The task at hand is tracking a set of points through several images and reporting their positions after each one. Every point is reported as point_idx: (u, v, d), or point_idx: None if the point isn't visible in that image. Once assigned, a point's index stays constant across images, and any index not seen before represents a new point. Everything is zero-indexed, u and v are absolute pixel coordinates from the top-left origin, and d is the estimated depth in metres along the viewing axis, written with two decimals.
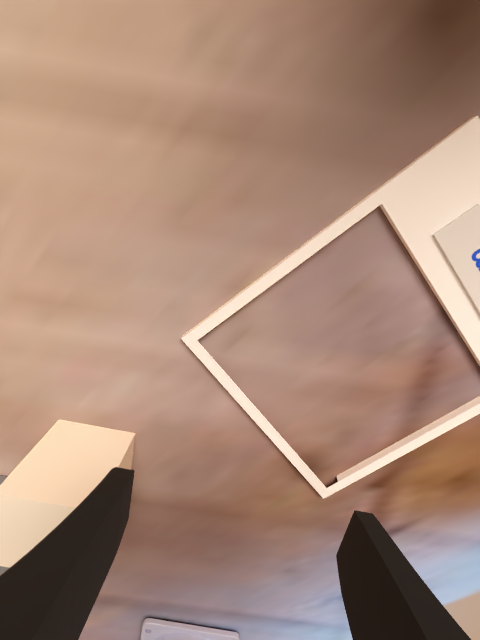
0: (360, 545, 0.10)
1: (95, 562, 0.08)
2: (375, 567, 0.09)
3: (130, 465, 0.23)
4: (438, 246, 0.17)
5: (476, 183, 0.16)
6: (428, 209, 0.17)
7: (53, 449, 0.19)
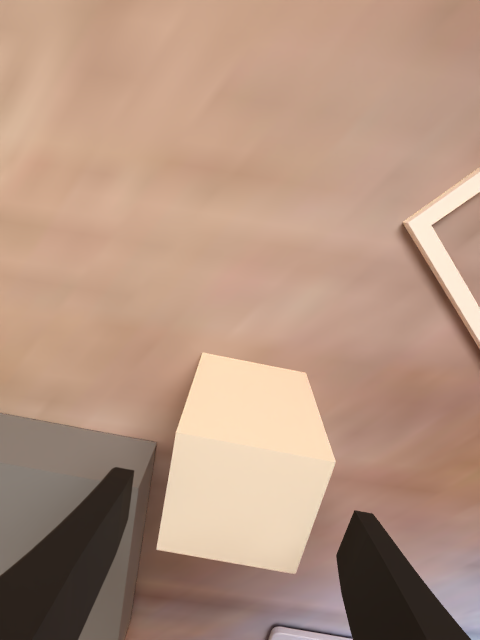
0: (360, 545, 0.10)
1: (95, 562, 0.08)
2: (375, 567, 0.09)
3: None
4: None
5: None
6: None
7: (220, 384, 0.13)
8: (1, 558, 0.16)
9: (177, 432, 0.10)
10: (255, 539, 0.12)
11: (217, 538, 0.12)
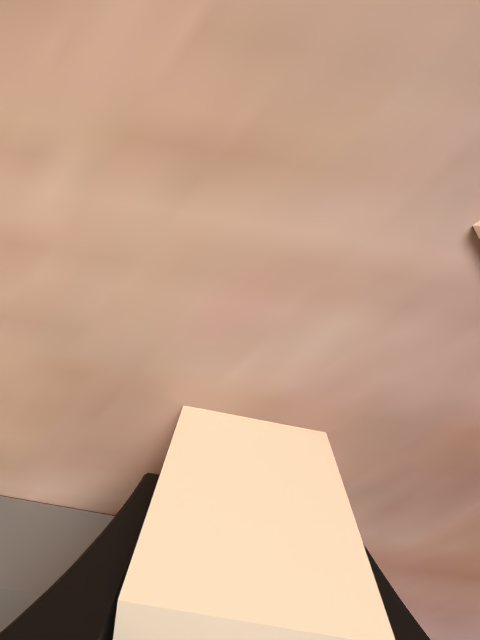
0: None
1: None
2: None
3: None
4: None
5: None
6: None
7: (204, 467, 0.09)
8: None
9: (120, 600, 0.06)
10: None
11: None
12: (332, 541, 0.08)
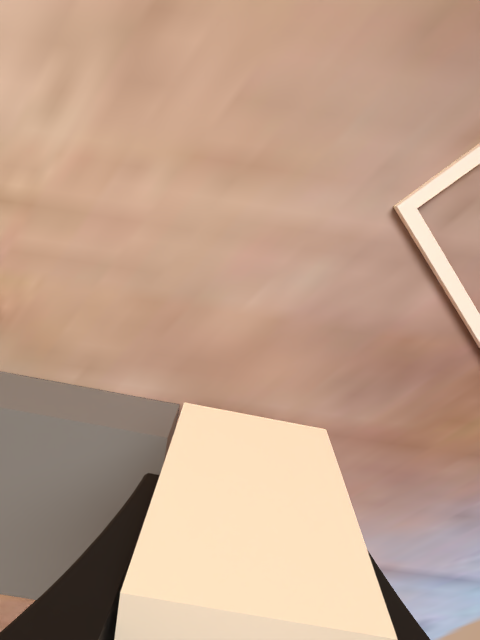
0: None
1: None
2: None
3: None
4: None
5: None
6: None
7: (206, 463, 0.09)
8: (46, 503, 0.19)
9: (122, 593, 0.06)
10: None
11: None
12: (332, 536, 0.08)
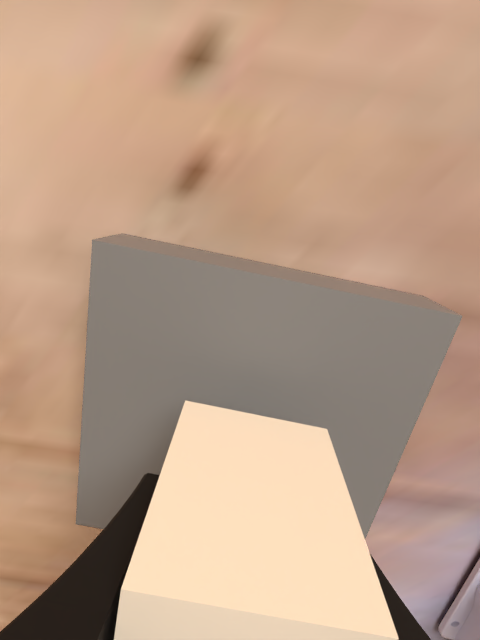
0: None
1: None
2: None
3: None
4: None
5: None
6: None
7: (206, 461, 0.09)
8: (270, 415, 0.14)
9: (123, 589, 0.06)
10: None
11: None
12: (333, 535, 0.08)
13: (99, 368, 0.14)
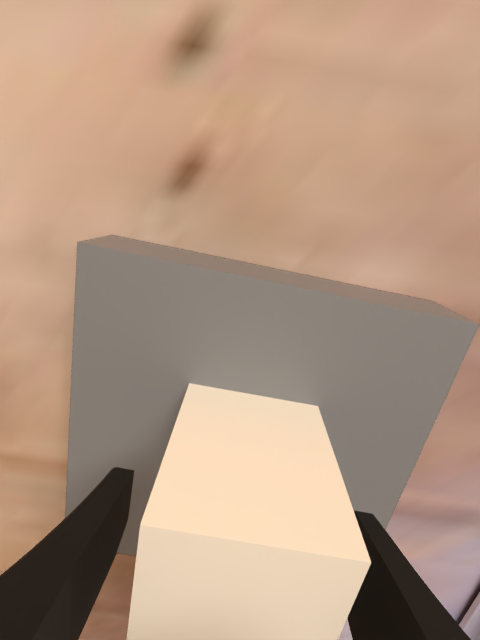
0: None
1: (95, 562, 0.08)
2: (375, 567, 0.09)
3: None
4: None
5: None
6: None
7: (209, 431, 0.10)
8: None
9: (142, 525, 0.07)
10: None
11: None
12: (320, 488, 0.09)
13: (86, 381, 0.13)
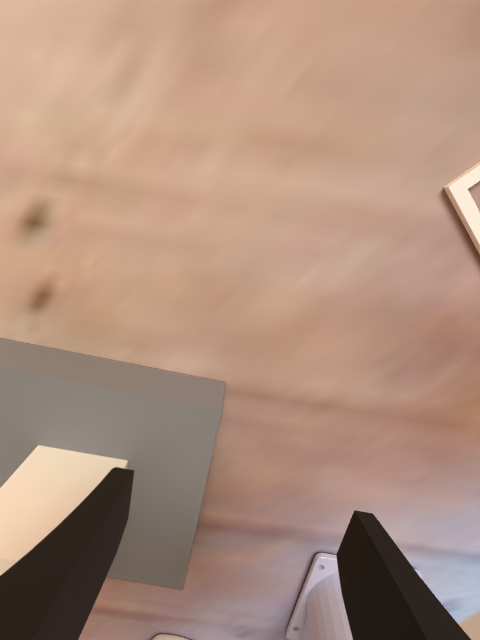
0: (360, 545, 0.10)
1: (95, 562, 0.08)
2: (375, 567, 0.09)
3: None
4: None
5: None
6: None
7: (28, 485, 0.16)
8: None
9: None
10: None
11: None
12: None
13: None
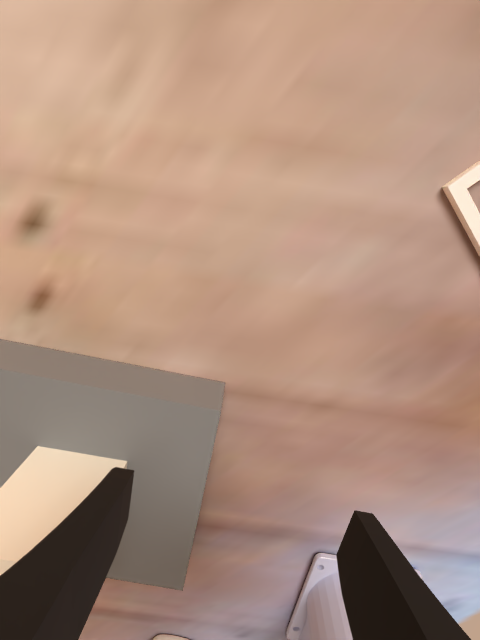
0: (360, 545, 0.10)
1: (95, 562, 0.08)
2: (375, 567, 0.09)
3: None
4: None
5: None
6: None
7: (27, 486, 0.16)
8: None
9: None
10: None
11: None
12: None
13: None
